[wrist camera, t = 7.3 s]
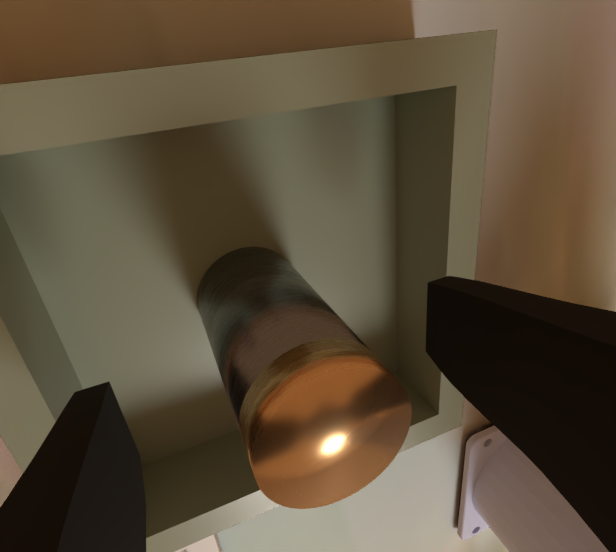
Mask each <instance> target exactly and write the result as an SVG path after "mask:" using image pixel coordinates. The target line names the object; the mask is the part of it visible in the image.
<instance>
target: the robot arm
mask: <svg viewBox="0 0 616 552" xmlns="http://www.w3.org/2000/svg"><path fill="white" fill-rule="evenodd" d="M426 353H427V354H428V355H429V356H430V358H431V359H432V360H433V362H434V363H435V364H436V366H437V367H438V368H439V370H440V371H441V372H442V373H443V374H444V376H445V377H446V378H447V379H448V380H449V382H450V383H451V384H452V385H453V386H454V387H455V388H456V389H457V390H458V391H459V392H460V393H461V394H462V395H463V396H464V397H465V398H466V399H467V400H468V401H469V402H470V403H471V404H472V405H473V406H474V407H475V408H477V409H478V410H479V411H480V412H481V413H482V414H483V415H484V416H485V417H486V418H487V419H488V420H489V421H490V422H491V423H492V424H493V425H494V426H492V427H489V428H487V429H485V430H483V431H481V432H478V433H476V434H474V435H472V436H471V437H470V438H469V439H468V441H467V443H466V451H465V461H464V471H463V481H462V491H461V501H460V511H459V521H458V531H457V533H458V535H459V537H460V538H461V539H462V540H467V539H469V538H471V537H473V536H475V535H477V534H478V533H480V532H482V531H484V530H486V529H488V528H491V530H492V531H493V532H494V533H495V535H496V536H497V537H498V538H499V539H500V541H501V542H502V543H503V544H504V545H505V547H506V548H507V549H508V550H509V552H616V312H613V311H608V310H603V309H598V308H593V307H588V306H583V305H578V304H574V303H569V302H565V301H560V300H556V299H551V298H547V297H543V296H539V295H534V294H530V293H526V292H522V291H518V290H514V289H510V288H506V287H502V286H497V285H493V284H489V283H485V282H480V281H476V280H471V279H466V278H461V277H454V276H446V277H443V278H440V279H437V280H434V281H430V282H428V286H427V318H426ZM0 552H146V500H145V491H144V482H143V474H142V466H141V458H140V454H139V452H138V449H137V447H136V444H135V442H134V440H133V437H132V435H131V432H130V430H129V428H128V425H127V423H126V420H125V418H124V416H123V413H122V411H121V408H120V406H119V404H118V401H117V399H116V396H115V394H114V392H113V389H112V387H111V384H110V382H105V383H102V384H99V385H96V386H92V387H89V388H86V389H83V390H80V391H76V392H74V394H73V395H72V397H71V398H70V400H69V402H68V403H67V405H66V406H65V408H64V409H63V411H62V412H61V414H60V416H59V417H58V419H57V421H56V422H55V424H54V425H53V427H52V429H51V430H50V432H49V434H48V435H47V437H46V438H45V440H44V442H43V443H42V445H41V446H40V448H39V450H38V451H37V453H36V454H35V456H34V458H33V459H32V461H31V462H30V464H29V465H28V467H27V468H26V470H25V471H24V473H23V474H22V476H21V477H20V479H19V481H18V482H17V484H16V485H15V487H14V488H13V490H12V491H11V493H10V494H9V496H8V497H7V499H6V500H5V502H4V503H3V505H2V506H1V507H0Z"/></svg>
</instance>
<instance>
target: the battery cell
mask: <svg viewBox="0 0 616 552" xmlns="http://www.w3.org/2000/svg"><path fill="white" fill-rule="evenodd" d="M197 304H198V309H199V313H200V316H201V319H202V322H203V325H204V328H205V331H206V334H207V337H208V340H209V343H210V346H211V349H212V352H213V355H214V357H215V360H216V363H217V366H218V369H219V372H220V375H221V378H222V381H223V384H224V387H225V390H226V393H227V396H228V399H229V402H230V405H231V408H232V411H233V414H234V417H235V420H236V423H237V426H238V429H239V432H240V435H241V438H242V441H243V444H244V447H245V450H246V453H247V456H248V459H249V462H250V465H251V468H252V471H253V474H254V477H255V480H256V482H257V484H258V487H259V488H260V490H261V491H262V493H263V494H264V495H265V496H266V497H267V498H268V499H270V500H271V501H273V502H275V503H277V504H279V505H282V506H285V507H289V508H298V509H306V508H315V507H321V506H325V505H329V504H332V503H334V502H337V501H340V500H342V499H344V498H346V497H348V496H350V495H352V494H354V493H356V492H357V491H359V490H360V489H362V488H363V487H365V486H366V485H368V484H369V483H370V482H372V481H373V480H374V479H375V478H376V477H377V476H379V475H380V474H381V473H382V472H383V471H384V470H385V469H386V468H387V466H388V465H389V464H390V463H391V462H392V460H393V459H394V458H395V456H396V455H397V453H398V452H399V450H400V449H401V447H402V445H403V443H404V441H405V439H406V437H407V434H408V431H409V428H410V423H411V418H412V407H411V401H410V398H409V395H408V393H407V391H406V389H405V388H404V386H403V385H402V384H401V383H400V382H399V381H398V379H397V378H396V377H395V376H394V375H393V374H392V373H391V372H390V371H389V370H388V369H387V368H386V367H385V365H384V364H383V363H382V362H381V361H380V360H379V359H378V358H377V357H376V356H375V355H374V354H373V353H372V351H371V350H370V349H369V348H368V347H367V346H366V345H365V344H364V343H363V342H362V341H361V340H360V338H359V337H358V336H357V335H356V334H355V333H354V332H353V331H352V330H351V329H350V328H349V327H348V326H347V324H346V323H345V322H344V321H343V320H342V319H341V318H340V317H339V316H338V315H337V314H336V313H335V312H334V310H333V309H332V308H331V307H330V306H329V305H328V304H327V303H326V302H325V301H324V300H323V299H322V298H321V296H320V295H319V294H318V293H317V292H316V291H315V290H314V289H313V288H312V287H311V286H310V285H309V283H308V282H307V281H306V280H305V279H304V278H303V277H302V276H301V275H300V274H299V273H298V272H297V271H296V269H295V268H294V267H293V266H292V265H291V264H290V263H289V262H288V261H287V260H286V259H285V258H284V257H283V256H282V255H280V254H279V253H277V252H275V251H273V250H271V249H267V248H263V247H244V248H239V249H236V250H233V251H231V252H229V253H227V254H225V255H223V256H222V257H220V258H219V259H218V260H216V261H215V262H214V263H213V264H212V265H211V266H210V267H209V268H208V270H207V271H206V273H205V274H204V276H203V278H202V280H201V282H200V285H199V288H198V293H197Z"/></svg>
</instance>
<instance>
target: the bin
mask: <svg viewBox="0 0 616 552" xmlns="http://www.w3.org/2000/svg"><path fill="white" fill-rule="evenodd" d="M496 36H497V30H488V31H479V32H470V33H461V34H452V35H443V36H434V37H425V38H416V39H407V40H398V41H389V42H380V43H371V44H362V45H353V46H344V47H335V48H326V49H317V50H308V51H299V52H290V53H281V54H272V55H263V56H254V57H245V58H236V59H227V60H218V61H209V62H200V63H191V64H182V65H173V66H164V67H155V68H146V69H137V70H128V71H119V72H110V73H101V74H92V75H83V76H74V77H65V78H56V79H47V80H38V81H29V82H20V83H11V84H2V85H0V436H1V438H2V439H3V441H4V443H5V444H6V446H7V447H8V449H9V451H10V452H11V454H12V455H13V457H14V459H15V460H16V462H17V463H18V465H19V467H20V468H21V470H22V472H23V473H24V471H25V470H26V468H27V467H28V465H29V464H30V462H31V461H32V459H33V458H34V456H35V454H36V453H37V451H38V450H39V448H40V446H41V445H42V443H43V442H44V440H45V438H46V437H47V435H48V434H49V432H50V430H51V429H52V427H53V425H54V424H55V422H56V421H57V419H58V417H59V416H60V414H61V412H62V411H63V409H64V408H65V406H66V405H67V403H68V402H69V400H70V398H71V397H72V395H73V394H74V392H76V391H80V390H83V389H86V388H89V387H92V386H96V385H99V384H102V383H105V382H110V384H111V387H112V389H113V392H114V394H115V396H116V399H117V401H118V404H119V406H120V408H121V411H122V413H123V416H124V418H125V420H126V423H127V425H128V428H129V430H130V432H131V435H132V437H133V440H134V442H135V444H136V447H137V449H138V452H139V454H140V458H141V466H142V474H143V482H144V491H145V500H146V552H175V551H177V550H179V549H182V548H184V547H186V546H188V545H191V544H193V543H195V542H198V541H200V540H202V539H204V538H207V537H209V536H211V535H213V534H216V533H218V532H220V531H223V530H225V529H227V528H229V527H232V526H234V525H236V524H238V523H241V522H243V521H245V520H247V519H250V518H252V517H254V516H257V515H259V514H261V513H263V512H266V511H268V510H270V509H272V508H275V507H277V506H279V504H277V503H275V502H273V501H271V500H270V499H268V498H267V497H266V496H265V495H264V494H263V493H262V491H261V490H260V488H259V487H258V484H257V482H256V480H255V477H254V474H253V471H252V468H251V465H250V462H249V459H248V456H247V453H246V450H245V447H244V444H243V441H242V438H241V435H240V432H239V429H238V426H237V423H236V420H235V417H234V414H233V411H232V408H231V405H230V402H229V399H228V396H227V393H226V390H225V387H224V384H223V381H222V378H221V375H220V372H219V369H218V366H217V363H216V360H215V357H214V355H213V352H212V349H211V346H210V343H209V340H208V337H207V334H206V331H205V328H204V325H203V322H202V319H201V316H200V313H199V309H198V304H197V293H198V288H199V285H200V282H201V280H202V278H203V276H204V274H205V273H206V271H207V270H208V268H209V267H210V266H211V265H212V264H213V263H214V262H215V261H216V260H218V259H219V258H220V257H222V256H223V255H225V254H227V253H229V252H231V251H233V250H236V249H239V248H244V247H263V248H267V249H271V250H273V251H275V252H277V253H279V254H280V255H282V256H283V257H284V258H285V259H286V260H287V261H288V262H289V263H290V264H291V265H292V266H293V267H294V268H295V269H296V271H297V272H298V273H299V274H300V275H301V276H302V277H303V278H304V279H305V280H306V281H307V282H308V283H309V285H310V286H311V287H312V288H313V289H314V290H315V291H316V292H317V293H318V294H319V295H320V296H321V298H322V299H323V300H324V301H325V302H326V303H327V304H328V305H329V306H330V307H331V308H332V309H333V310H334V312H335V313H336V314H337V315H338V316H339V317H340V318H341V319H342V320H343V321H344V322H345V323H346V324H347V326H348V327H349V328H350V329H351V330H352V331H353V332H354V333H355V334H356V335H357V336H358V337H359V338H360V340H361V341H362V342H363V343H364V344H365V345H366V346H367V347H368V348H369V349H370V350H371V351H372V353H373V354H374V355H375V356H376V357H377V358H378V359H379V360H380V361H381V362H382V363H383V364H384V365H385V367H386V368H387V369H388V370H389V371H390V372H391V373H392V374H393V375H394V376H395V377H396V378H397V379H398V381H399V382H400V383H401V384H402V385H403V386H404V388H405V389H406V391H407V393H408V395H409V398H410V401H411V407H412V418H411V423H410V428H409V431H408V434H407V437H406V439H405V441H404V443H403V445H402V447H401V449H400V450H399V452H398V453H400V452H402V451H404V450H406V449H409V448H411V447H413V446H415V445H418V444H420V443H422V442H425V441H427V440H429V439H431V438H434V437H436V436H438V435H440V434H443V433H445V432H447V431H450V430H452V429H454V428H456V427H459V426H461V425H462V413H463V402H464V396H463V395H462V394H461V393H460V392H459V391H458V390H457V389H456V388H455V387H454V386H453V385H452V384H451V383H450V382H449V380H448V379H447V378H446V377H445V376H444V374H443V373H442V372H441V371H440V370H439V368H438V367H437V366H436V364H435V363H434V362H433V360H432V359H431V358H430V356H429V355H428V354H427V353H426V318H427V286H428V282H430V281H434V280H437V279H440V278H443V277H446V276H454V277H461V278H466V279H471V280H475V269H476V258H477V247H478V236H479V225H480V214H481V203H482V191H483V180H484V169H485V158H486V147H487V136H488V125H489V114H490V103H491V92H492V80H493V69H494V58H495V47H496Z"/></svg>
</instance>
